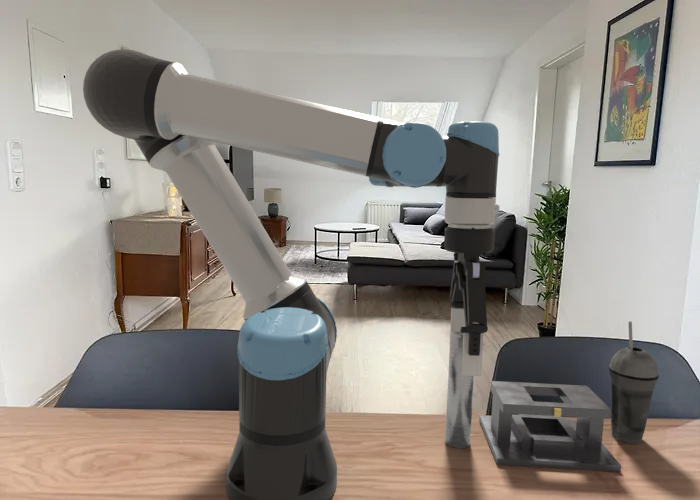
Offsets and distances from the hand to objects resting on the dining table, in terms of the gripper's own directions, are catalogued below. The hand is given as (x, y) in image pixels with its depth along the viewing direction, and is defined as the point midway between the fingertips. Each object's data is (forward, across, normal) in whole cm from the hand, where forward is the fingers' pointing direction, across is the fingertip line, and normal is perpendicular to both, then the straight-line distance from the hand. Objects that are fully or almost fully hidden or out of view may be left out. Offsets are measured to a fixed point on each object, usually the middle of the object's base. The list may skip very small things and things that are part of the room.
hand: (464, 358), depth 78 cm
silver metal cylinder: (+14, 0, 0) cm, 14 cm away
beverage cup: (+15, +5, -28) cm, 32 cm away
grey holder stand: (+14, +1, -14) cm, 20 cm away
